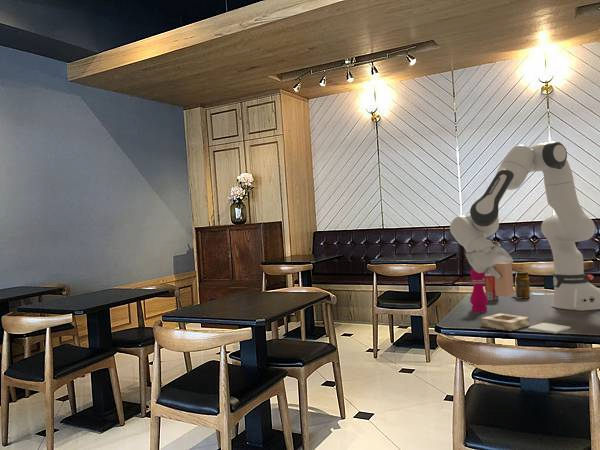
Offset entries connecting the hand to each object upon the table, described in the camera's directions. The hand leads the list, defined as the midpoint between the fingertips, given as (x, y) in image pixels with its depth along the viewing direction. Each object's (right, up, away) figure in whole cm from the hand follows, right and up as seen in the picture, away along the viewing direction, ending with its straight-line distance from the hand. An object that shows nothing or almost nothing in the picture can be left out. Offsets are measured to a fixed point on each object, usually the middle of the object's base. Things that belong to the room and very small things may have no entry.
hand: (505, 276), depth 183 cm
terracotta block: (0, -7, +1) cm, 7 cm away
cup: (+16, -17, +54) cm, 59 cm away
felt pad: (+13, -18, -7) cm, 23 cm away
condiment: (+31, -16, +55) cm, 65 cm away
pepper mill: (+1, -18, +30) cm, 35 cm away
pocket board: (0, -18, +1) cm, 18 cm away
